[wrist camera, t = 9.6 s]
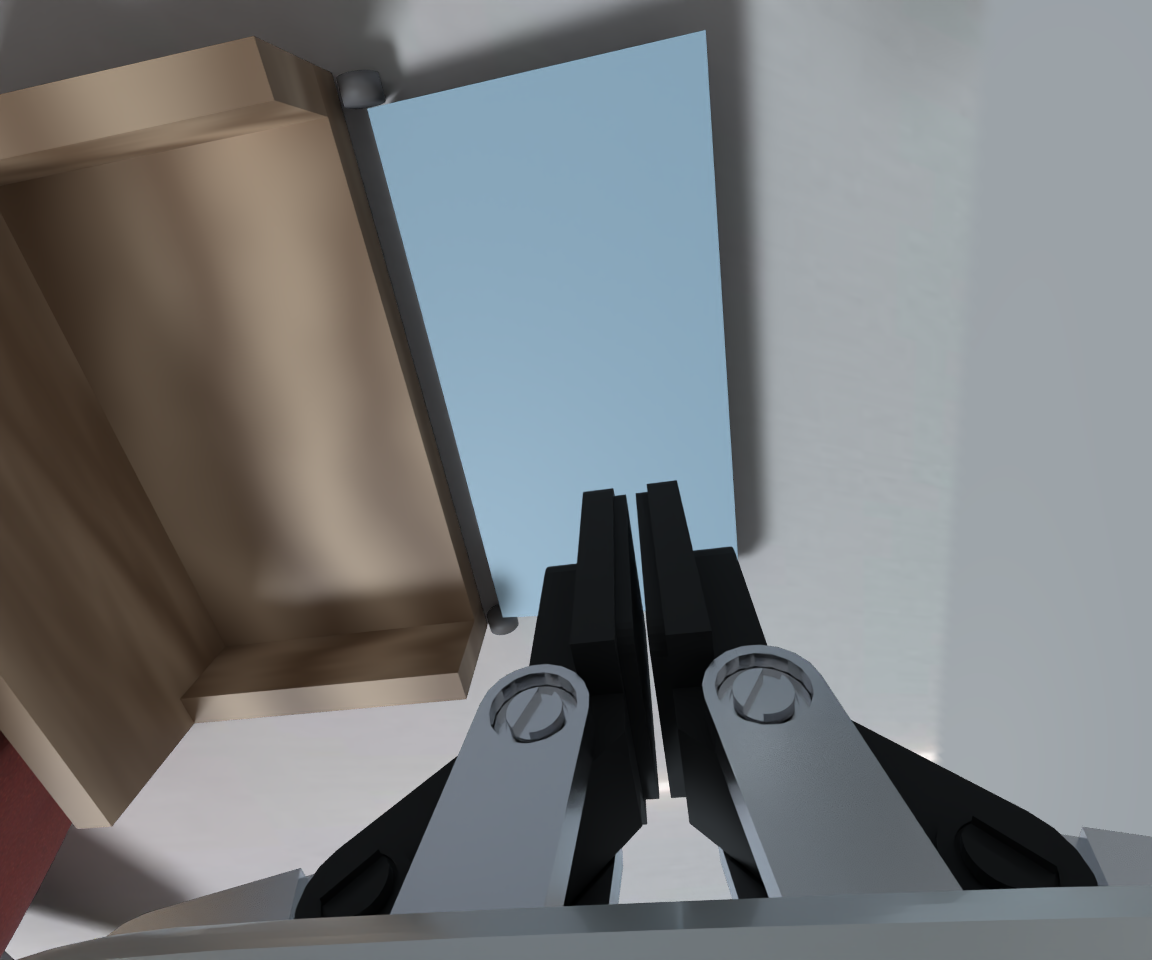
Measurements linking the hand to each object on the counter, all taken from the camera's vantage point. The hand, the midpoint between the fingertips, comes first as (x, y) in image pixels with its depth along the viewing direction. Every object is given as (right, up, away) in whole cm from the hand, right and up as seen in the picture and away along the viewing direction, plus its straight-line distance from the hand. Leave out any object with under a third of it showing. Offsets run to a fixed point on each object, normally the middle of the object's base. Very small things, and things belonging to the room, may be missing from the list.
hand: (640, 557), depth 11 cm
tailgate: (-6, +5, +14) cm, 16 cm away
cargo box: (-15, +4, +16) cm, 22 cm away
